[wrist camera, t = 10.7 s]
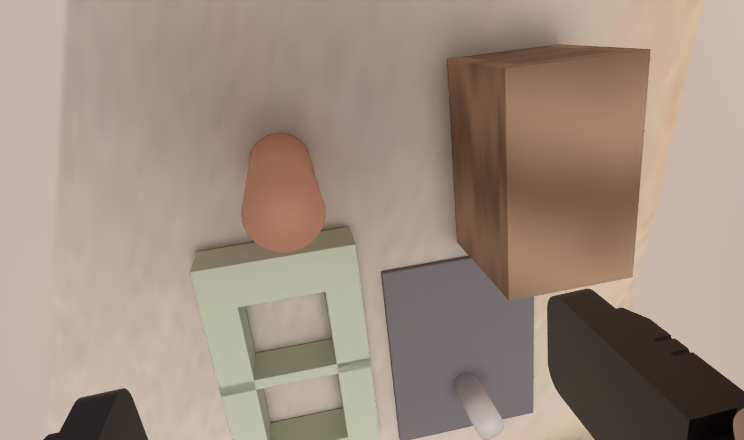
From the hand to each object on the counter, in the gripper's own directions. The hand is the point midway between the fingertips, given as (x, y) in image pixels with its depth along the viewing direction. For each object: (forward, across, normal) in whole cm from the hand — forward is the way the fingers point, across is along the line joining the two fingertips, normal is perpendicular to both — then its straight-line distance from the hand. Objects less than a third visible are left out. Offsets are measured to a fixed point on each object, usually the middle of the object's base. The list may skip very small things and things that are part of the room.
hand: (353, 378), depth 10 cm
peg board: (+18, +2, +11) cm, 21 cm away
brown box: (+18, -11, +1) cm, 21 cm away
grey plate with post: (+18, -8, +13) cm, 24 cm away
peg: (+18, +1, 0) cm, 18 cm away
